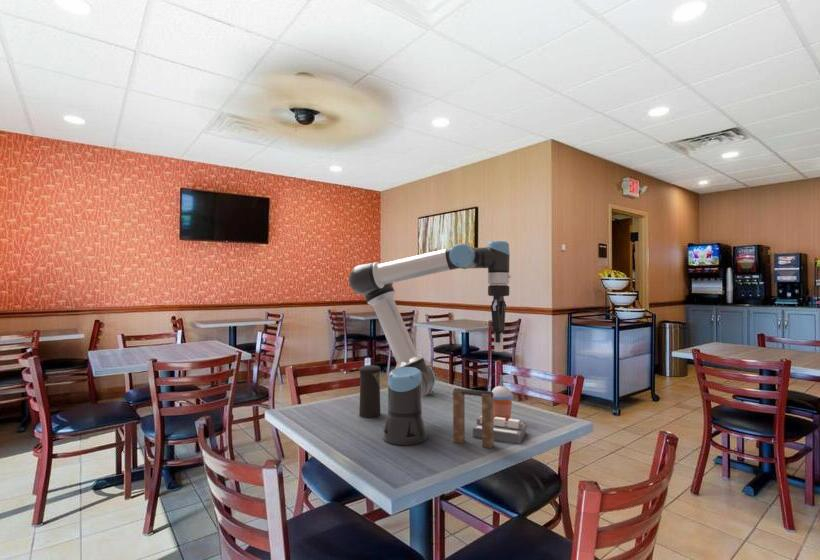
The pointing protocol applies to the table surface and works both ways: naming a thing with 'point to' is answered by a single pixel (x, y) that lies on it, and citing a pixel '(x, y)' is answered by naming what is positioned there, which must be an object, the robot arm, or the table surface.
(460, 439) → the posts
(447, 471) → the table surface
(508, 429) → the breaker panel
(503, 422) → the breaker paddles
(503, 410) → the cup with straw
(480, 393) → the dark grey rod
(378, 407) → the container
